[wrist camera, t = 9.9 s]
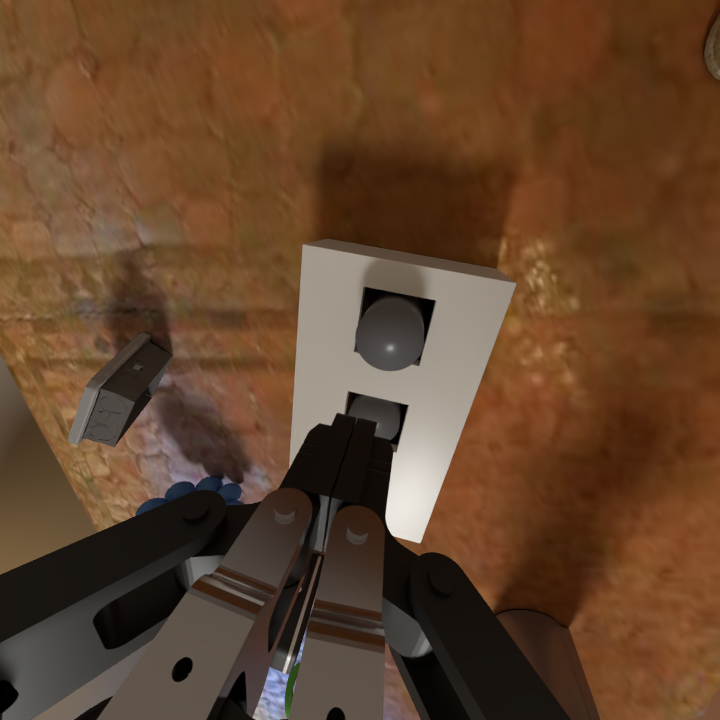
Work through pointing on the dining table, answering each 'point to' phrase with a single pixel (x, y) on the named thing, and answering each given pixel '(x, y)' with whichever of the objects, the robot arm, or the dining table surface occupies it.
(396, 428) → the knob
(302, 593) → the battery charger
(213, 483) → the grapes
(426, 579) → the robot arm
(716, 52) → the sprinkles bottle
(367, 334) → the knob
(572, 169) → the dining table surface
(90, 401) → the electrical switch
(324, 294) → the knob panel
